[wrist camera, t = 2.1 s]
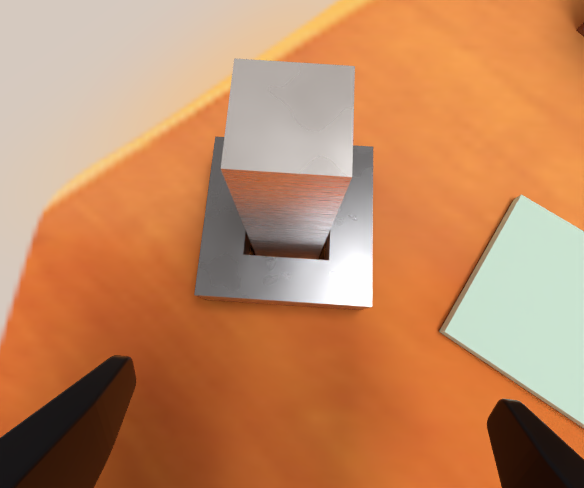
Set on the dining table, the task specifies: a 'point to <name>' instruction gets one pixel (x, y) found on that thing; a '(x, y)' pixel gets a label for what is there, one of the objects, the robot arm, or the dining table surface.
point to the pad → (529, 306)
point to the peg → (289, 152)
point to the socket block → (289, 271)
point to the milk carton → (581, 29)
